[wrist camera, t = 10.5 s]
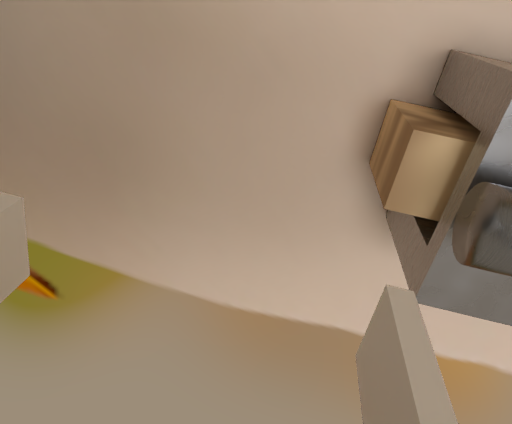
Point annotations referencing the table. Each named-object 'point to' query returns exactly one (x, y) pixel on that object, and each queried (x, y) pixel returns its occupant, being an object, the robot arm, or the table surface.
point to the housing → (468, 203)
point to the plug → (420, 158)
